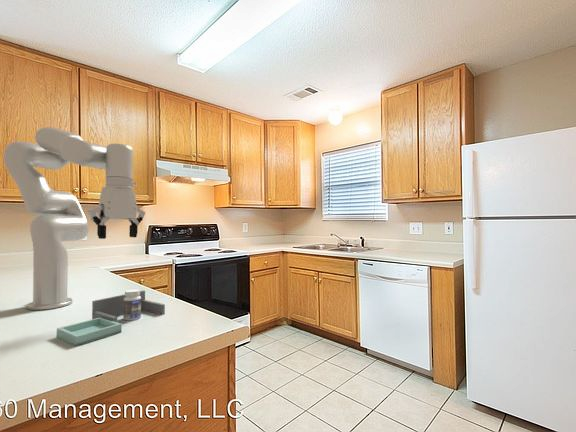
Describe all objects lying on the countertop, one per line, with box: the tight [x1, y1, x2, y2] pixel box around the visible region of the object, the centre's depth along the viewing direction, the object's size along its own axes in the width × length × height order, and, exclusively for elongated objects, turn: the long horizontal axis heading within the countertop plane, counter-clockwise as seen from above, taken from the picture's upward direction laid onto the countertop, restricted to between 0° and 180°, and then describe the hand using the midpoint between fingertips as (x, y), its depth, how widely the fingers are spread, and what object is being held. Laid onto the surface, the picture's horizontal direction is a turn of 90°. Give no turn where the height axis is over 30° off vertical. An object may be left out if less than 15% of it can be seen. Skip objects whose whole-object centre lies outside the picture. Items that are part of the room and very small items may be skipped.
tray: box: [56, 317, 123, 347], centre depth 79 cm, size 11×11×2 cm
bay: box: [91, 290, 166, 323], centre depth 93 cm, size 12×16×6 cm
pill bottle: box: [122, 288, 142, 321], centre depth 92 cm, size 5×5×8 cm
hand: (118, 237), depth 96 cm, fingers open, 9 cm apart
